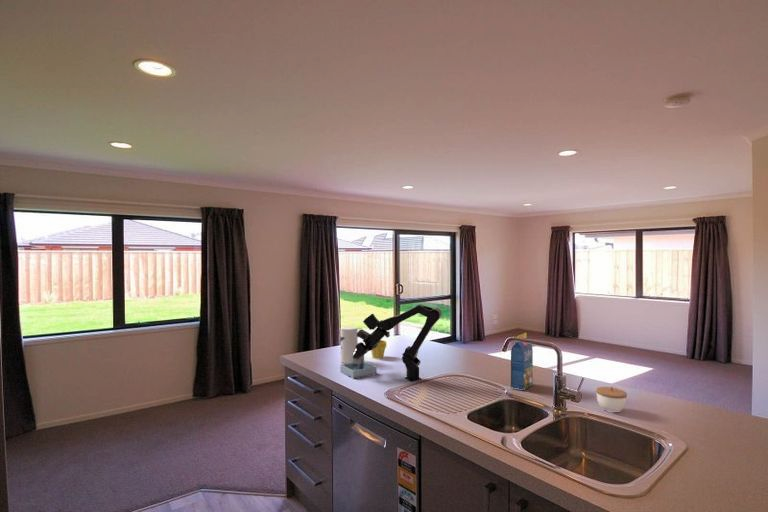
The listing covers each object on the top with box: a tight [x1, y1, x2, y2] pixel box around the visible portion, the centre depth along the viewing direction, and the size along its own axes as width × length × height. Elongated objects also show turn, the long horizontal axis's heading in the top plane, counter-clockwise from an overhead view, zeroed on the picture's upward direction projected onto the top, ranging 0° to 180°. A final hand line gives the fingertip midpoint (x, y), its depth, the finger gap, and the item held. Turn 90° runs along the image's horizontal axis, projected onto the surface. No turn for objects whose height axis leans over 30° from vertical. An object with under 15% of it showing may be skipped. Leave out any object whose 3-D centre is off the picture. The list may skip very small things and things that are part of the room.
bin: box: [339, 360, 378, 379], centre depth 208 cm, size 14×14×4 cm
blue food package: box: [510, 332, 534, 391], centre depth 186 cm, size 6×12×25 cm, turn 140°
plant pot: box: [370, 339, 387, 359], centre depth 239 cm, size 10×10×10 cm
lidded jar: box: [595, 386, 628, 412], centre depth 158 cm, size 11×11×9 cm
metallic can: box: [353, 349, 365, 370], centre depth 207 cm, size 6×6×12 cm
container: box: [340, 325, 359, 364], centre depth 231 cm, size 10×10×20 cm
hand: (356, 355), depth 208 cm, fingers open, 9 cm apart
